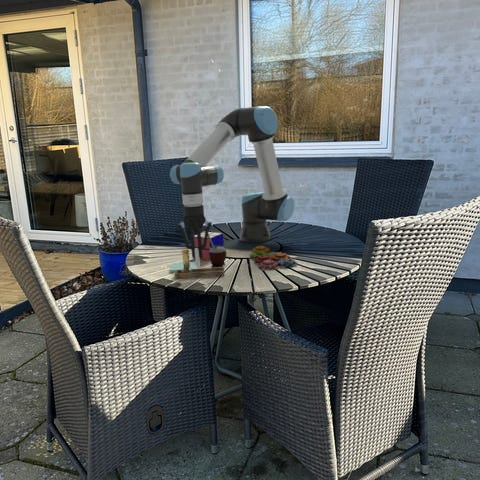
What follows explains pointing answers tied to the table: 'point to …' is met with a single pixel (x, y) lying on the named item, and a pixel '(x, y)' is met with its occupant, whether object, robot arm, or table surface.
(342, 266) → the table surface
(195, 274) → the index rail
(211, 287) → the table surface
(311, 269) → the table surface
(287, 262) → the gear puzzle
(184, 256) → the small yellow bottle
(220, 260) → the mate gourd
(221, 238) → the puzzle cube
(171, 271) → the pad
